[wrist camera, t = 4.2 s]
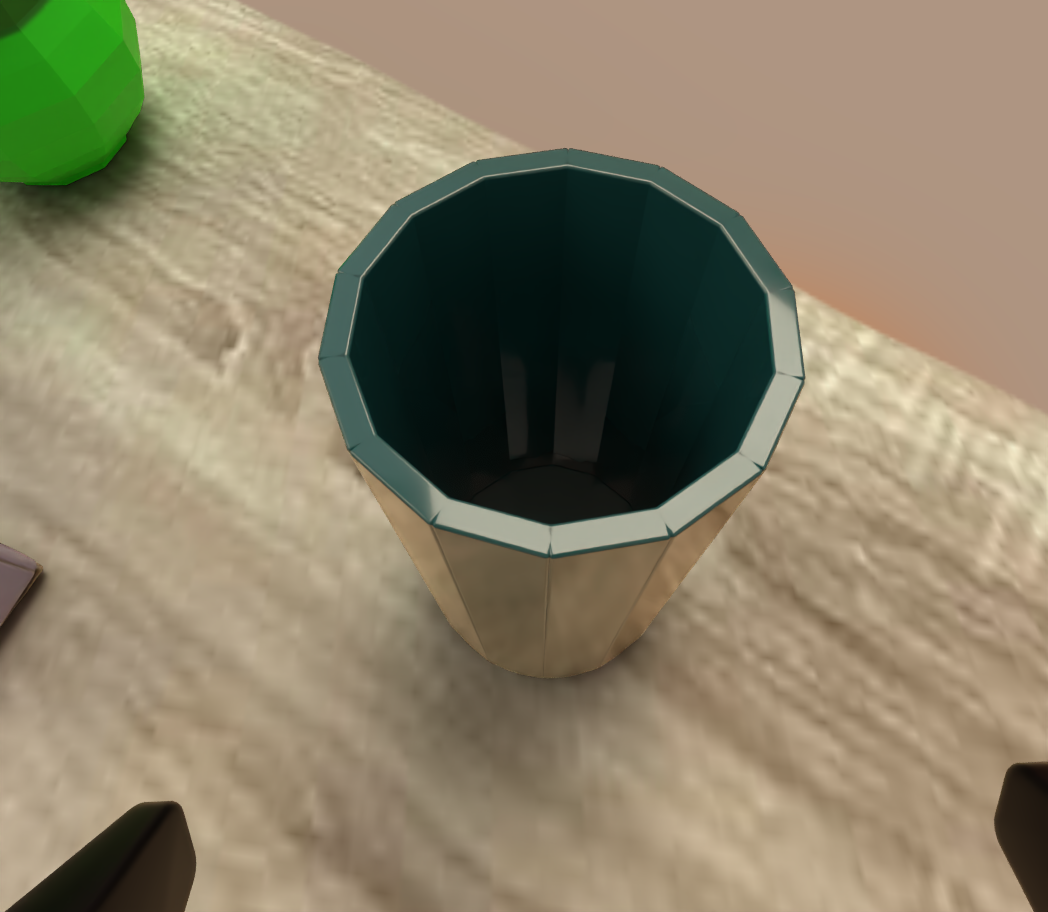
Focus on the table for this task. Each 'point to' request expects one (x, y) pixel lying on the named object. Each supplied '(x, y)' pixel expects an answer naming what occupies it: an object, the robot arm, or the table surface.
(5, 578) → the cake pan box
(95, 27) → the plastic bottle
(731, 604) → the table surface
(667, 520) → the teal and beige cup
